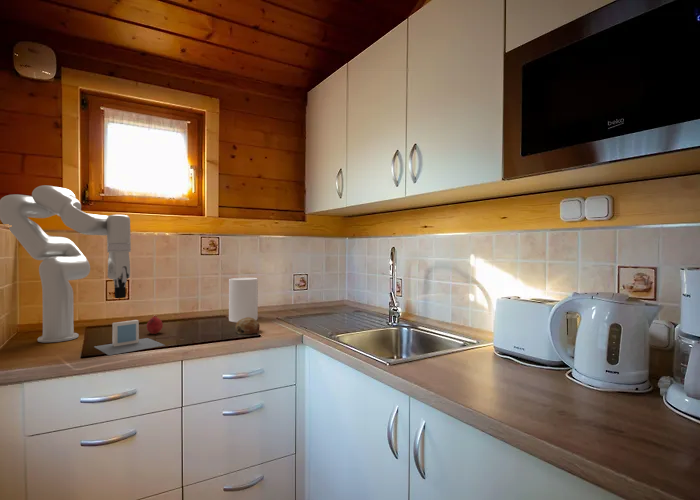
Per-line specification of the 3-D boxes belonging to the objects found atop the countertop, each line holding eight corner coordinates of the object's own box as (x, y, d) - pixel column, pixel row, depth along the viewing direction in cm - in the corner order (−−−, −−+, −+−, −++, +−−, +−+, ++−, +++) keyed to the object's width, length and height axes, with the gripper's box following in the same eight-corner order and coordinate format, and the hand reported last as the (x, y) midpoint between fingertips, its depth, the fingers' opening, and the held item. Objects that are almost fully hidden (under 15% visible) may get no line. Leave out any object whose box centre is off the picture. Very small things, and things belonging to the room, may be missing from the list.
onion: (156, 336, 156) (156, 316, 156) (143, 336, 158) (143, 316, 158) (165, 333, 162) (165, 314, 162) (153, 333, 163) (153, 313, 163)
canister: (234, 316, 201) (234, 277, 201) (260, 317, 200) (260, 277, 200) (224, 322, 187) (224, 279, 187) (253, 322, 187) (253, 279, 187)
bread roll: (233, 341, 165) (228, 325, 161) (244, 326, 174) (240, 311, 170) (254, 343, 163) (250, 327, 159) (265, 327, 172) (261, 312, 168)
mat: (93, 348, 139) (93, 346, 139) (147, 339, 152) (147, 337, 152) (108, 357, 128) (108, 355, 128) (165, 346, 141) (165, 345, 141)
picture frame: (112, 345, 141) (112, 322, 140) (136, 341, 146) (136, 319, 146) (114, 346, 139) (114, 323, 139) (138, 342, 145) (138, 320, 145)
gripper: (101, 248, 149) (102, 297, 149) (114, 248, 139) (116, 300, 139) (123, 248, 155) (124, 295, 155) (137, 248, 145) (138, 298, 145)
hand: (120, 297), depth 147 cm, fingers closed
